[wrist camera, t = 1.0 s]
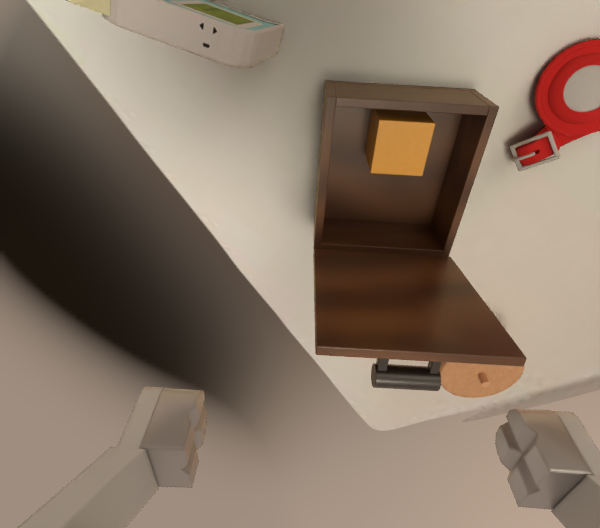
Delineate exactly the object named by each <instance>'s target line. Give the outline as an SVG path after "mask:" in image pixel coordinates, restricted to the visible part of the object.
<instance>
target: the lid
mask: <svg viewBox="0 0 600 528" xmlns="http://www.w3.org/2000/svg"><path fill="white" fill-rule="evenodd" d="M313 257H314V303H315V348H316V355H329V356H346V357H364V358H377V363H376V364H373V365H372V371H371V380H372V386H373V387H375V388H393V389H411V390H428V391H438V390H439V389H440V386H441V374H440V371H439V370H440V366H441V363H442V362H451V363H469V364H487V365H504V366H522V367H523V366H524V364H525V361H526V357H525V355H524V354H523V353H522V351H521V350H520V349H519V347H518V346H517V345H516V343H515V342H514V341H513V339H512V338H511V337H510V335H509V334H508V333H507V331H506V330H505V329H504V327H503V326H502V325H501V323H500V322H499V321H498V319H497V318H496V317H495V315H494V314H493V313H492V311H491V310H490V309H489V307H488V306H487V305H486V303H485V302H484V301H483V299H482V298H481V297H480V296H479V294H478V293H477V292H476V290H475V289H474V288H473V286H472V285H471V284H470V282H469V281H468V280H467V278H466V277H465V276H464V274H463V273H462V272H461V270H460V269H459V268H458V266H457V265H456V264H455V262H454V261H453V260H452V258H451V257H447V256H430V255H412V254H395V253H378V252H361V251H344V250H327V249H314V254H313ZM389 359H399V360H416V361H429V364H428V367H426V366H409V365H391V364H388V361H389Z"/></svg>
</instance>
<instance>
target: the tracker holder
mask: <svg viewBox="0 0 600 528" xmlns="http://www.w3.org/2000/svg"><path fill="white" fill-rule="evenodd" d="M535 107H536V110H537V113H538V115H539V117H540V119H541V121H542V122H543V123H544V124H545V127H544V128H543V129H542V130H541V131H540V132H539V133H537V134H536V135H535V136H533V137H531V138H530V139H527V140H524V141H522V142H519V143H517V144H514V145H511V146H510V149H511V152H512V155H513V157H514V160H513V161H514V162H515V163H516V165H517V168H518V171H522V170H525V169H528V168H532V167H535V166H538V165H541V164H544V163H547V162H550V161H553V160H556V159H559V158H560V155H559V152H558V150H559V148H560V146H563V145H565V144H567V143H569V142H571V141H573V140H576V139H578V138H580V137H583V136H585V135H588V134H590V133H593V132H597V131H600V39H594V40H587V41H584V42H580V43H577V44H575V45H573V46H571V47H569V48H567V49H565V50H564V51H562V52H561V53H560V54H558V55H557V56H556V57H555V58H554V59H553V60H552V61H551V62H550V63H549V64H548V65H547V67H546V68H545V69H544V71H543V72H542V74H541V76H540V78H539V80H538V83H537V86H536V91H535ZM553 154H554V155H555V156H553V157H550V158H547V157H549V156H551V155H553ZM545 158H547V159H545ZM543 159H544V160H543ZM540 160H541V161H540Z"/></svg>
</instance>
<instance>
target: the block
mask: <svg viewBox="0 0 600 528" xmlns="http://www.w3.org/2000/svg"><path fill="white" fill-rule="evenodd" d="M434 128H435V122H434V121H433V120H432V119H431V117H430V116H429V115H428V114H427V112H416V111H399V110H383V109H372V112H371V119H370V125H369V132H368V138H367V145H366V151H365V155H366V159H367V162H368V166H369V169H370V173H377V174H394V175H411V176H422V175H423V171H424V167H425V163H426V159H427V156H428V152H429V148H430V144H431V140H432V136H433V132H434Z"/></svg>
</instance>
